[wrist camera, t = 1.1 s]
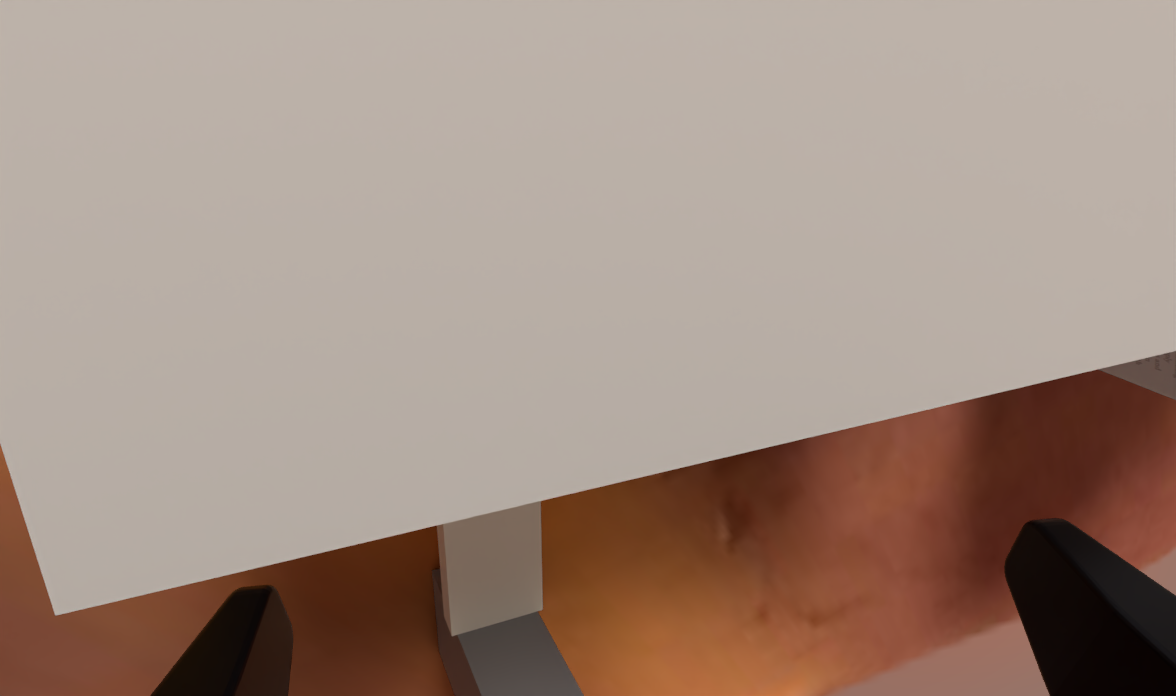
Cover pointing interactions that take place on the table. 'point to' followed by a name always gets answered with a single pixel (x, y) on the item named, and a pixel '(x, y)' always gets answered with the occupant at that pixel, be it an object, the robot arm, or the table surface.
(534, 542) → the grey mallet
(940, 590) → the table surface
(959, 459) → the table surface
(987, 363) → the cabinet
